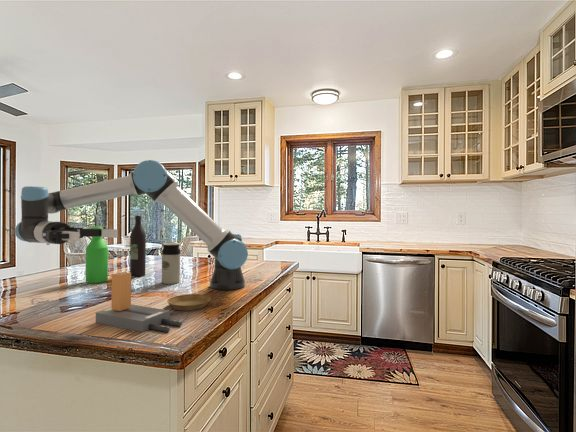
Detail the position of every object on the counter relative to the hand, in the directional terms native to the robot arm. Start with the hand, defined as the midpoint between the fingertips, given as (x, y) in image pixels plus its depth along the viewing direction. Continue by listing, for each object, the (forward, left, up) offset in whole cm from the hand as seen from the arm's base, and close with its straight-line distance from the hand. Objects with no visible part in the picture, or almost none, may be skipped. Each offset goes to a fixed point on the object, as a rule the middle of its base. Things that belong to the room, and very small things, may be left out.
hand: (98, 235), depth 108 cm
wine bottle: (+6, -64, -26) cm, 69 cm away
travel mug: (-13, -48, -26) cm, 56 cm away
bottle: (+20, -51, -26) cm, 60 cm away
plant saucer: (-27, -9, -26) cm, 38 cm away
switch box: (-16, +9, -25) cm, 31 cm away
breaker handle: (-9, +5, -22) cm, 24 cm away
